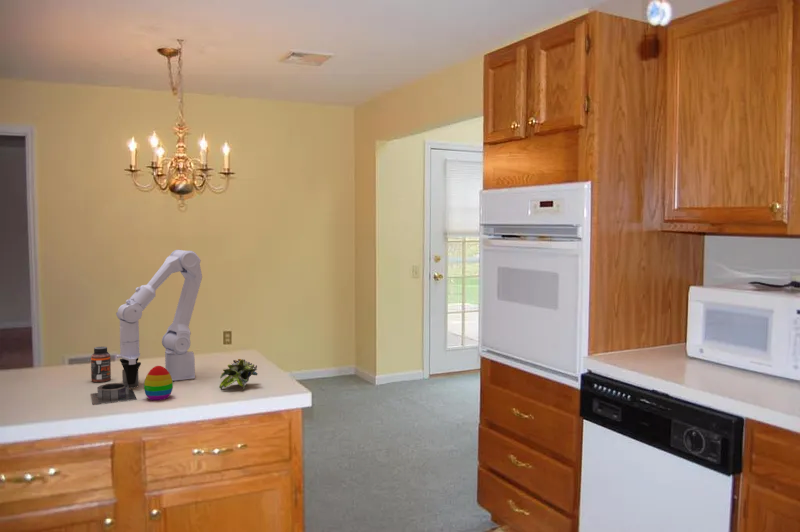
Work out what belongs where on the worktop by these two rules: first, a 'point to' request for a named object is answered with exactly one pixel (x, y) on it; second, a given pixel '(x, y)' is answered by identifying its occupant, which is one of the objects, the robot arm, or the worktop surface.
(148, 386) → the decorative egg
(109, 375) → the supplement bottle
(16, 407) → the worktop surface
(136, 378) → the cap
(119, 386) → the gray square plate
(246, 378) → the leafy green plant
